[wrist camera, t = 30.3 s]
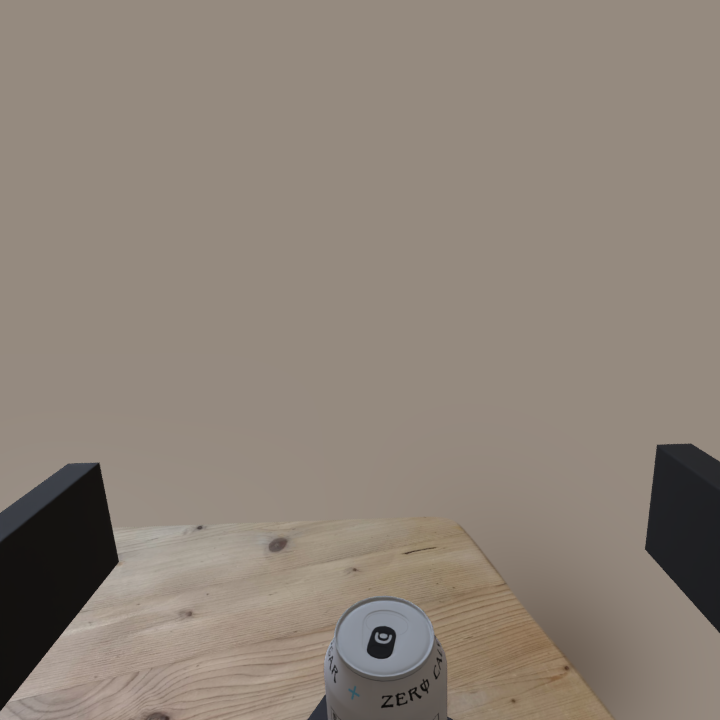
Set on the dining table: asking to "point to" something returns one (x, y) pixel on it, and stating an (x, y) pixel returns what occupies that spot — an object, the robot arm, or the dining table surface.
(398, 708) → the energy drink can
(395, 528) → the dining table surface
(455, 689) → the dining table surface
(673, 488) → the robot arm
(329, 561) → the dining table surface
